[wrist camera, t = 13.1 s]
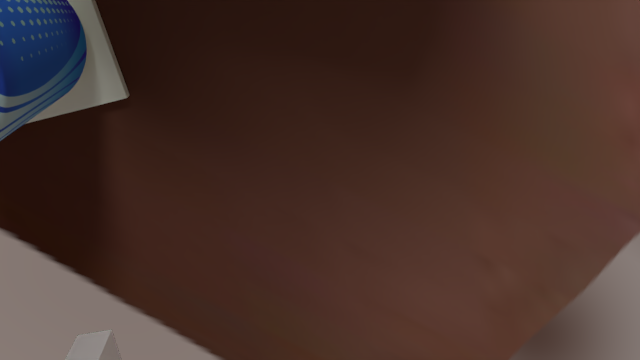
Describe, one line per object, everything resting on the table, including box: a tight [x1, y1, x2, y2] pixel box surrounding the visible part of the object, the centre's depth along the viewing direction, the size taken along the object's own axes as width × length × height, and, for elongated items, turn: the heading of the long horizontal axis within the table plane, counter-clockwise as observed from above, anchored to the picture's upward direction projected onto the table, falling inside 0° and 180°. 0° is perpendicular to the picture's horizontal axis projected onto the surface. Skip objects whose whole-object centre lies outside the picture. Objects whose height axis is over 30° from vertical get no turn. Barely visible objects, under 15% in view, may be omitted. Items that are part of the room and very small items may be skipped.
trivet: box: [25, 0, 130, 124], centre depth 40 cm, size 11×11×1 cm
